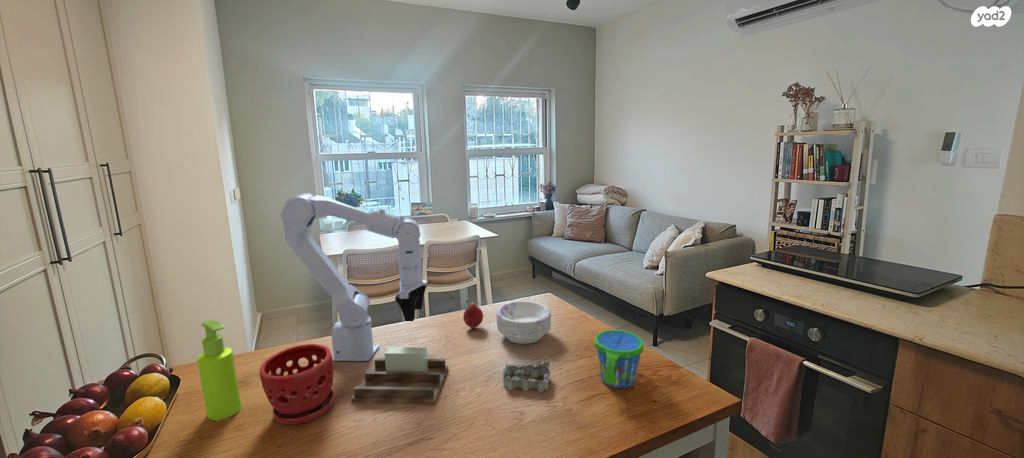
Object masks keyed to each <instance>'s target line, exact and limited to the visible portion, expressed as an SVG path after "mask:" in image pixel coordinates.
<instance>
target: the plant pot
mask: <svg viewBox="0 0 1024 458" xmlns="http://www.w3.org/2000/svg"><path fill="white" fill-rule="evenodd" d="M313 356H315V357H316V359H314V358H313ZM332 356H333V355H332V351H331V349H330V348H328V346H325V345H323V344H318V343H317V344H316V343H312V344H311V343H309V344H301V345H300V344H299V345H295V346H292V347H288V348H286V349H284V350H280V351H279V352H277V353H274V354H273V355H271V356H270V357H267V359H265V360H264V361H263V362H262V364H261V366H260V367H259V370H258V372H259V376H260V383H261V385H262V389H263V392H264V394H265V396H266V398H267V400H268V402H269V404H270V405H271V406H272V407H273V409H272V414H273V417H274V419H275V420H277V421H278V422H280V423H283V424H287V425H298V424H303V423H306V422H309V421H312V420H313V421H314V420H315V419H317V418H318V417H319V416H321V415H322V414H324V413H326V412H327V411H328V409H330V408H331V406H332V404H333V403H334V400H335V392H334V390H333V389H332V387H333V383H334V361H333V357H332ZM300 359H306V360H307V362H308V364H307V365H305V366H302V365H300V363H299V360H300ZM288 362H291V365H289V366H288V365H287V363H288ZM278 369H280V372H279V373H277V370H278ZM294 370H297V371H296V372H295V373H294ZM285 372H287V374H286V375H285Z"/></svg>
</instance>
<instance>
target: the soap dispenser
mask: <svg viewBox="0 0 1024 458" xmlns="http://www.w3.org/2000/svg"><path fill="white" fill-rule="evenodd" d="M200 325H201V327H203V328H204V330H205V337H204V338H202V339H201V344H202V350H203V352H202V353H200V354H199V355H198V356H197V358H196V360H197V366H198V371H199V376H200V377H199V378H200V382H201V387H202V392H203V399H204V403H205V410H206V415H207V418H209V419H208V420H210V419H212V420H211V421H213V420H217V421H221V420H220V419H223V420H225V419H224V418H226V419H229V418H231V417H233V416H235V415H236V414H238V413H239V412H240V411H241V409H242V401H241V395H240V389H239V384H238V383H239V382H238V378H237V372H236V371H237V370H236V366H235V360H234V352H233V349H232V348H231V347H225V343H224V339H223V335H222V334H218V333H217V332H218V331H221V330H223V329H225V326H224V325H223V324H222V323H221V322H219V321H217V320H213V319H210V320H207V321H204V322H201V323H200ZM239 410H240V411H239ZM237 412H238V413H237ZM234 414H235V415H234ZM230 416H231V417H230ZM228 417H229V418H228Z"/></svg>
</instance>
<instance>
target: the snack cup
mask: <svg viewBox="0 0 1024 458" xmlns="http://www.w3.org/2000/svg"><path fill="white" fill-rule="evenodd" d="M594 346H595V348H596V350H597V359H598V367H599V368H598V369H599V375H600V379H601V382H602V383H605V385H607V386H609V387H611V388H613V389H627V388H631V387H632V386H633V385H634V383H635V380H636V377H637V373H638V368H639V363H640V358H641V354H642V353H643V351H644V341H643V339H642V338H641V337H640V336H639V335H636V334H635V333H634V332H633V333H632V332H629V331H627V330H620V329H607V330H604V331H601V332H599V333H598V334H597V335H596V336H595V338H594Z"/></svg>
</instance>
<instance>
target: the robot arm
mask: <svg viewBox="0 0 1024 458" xmlns="http://www.w3.org/2000/svg"><path fill="white" fill-rule="evenodd" d="M281 210H282V211H281V213H280V218H281V220H282V226H283V234H284V240H285V242H286V244H287V245H288V246H289V248H291V250H292V251H293V252H294V254H295V255H296V256H297V257H298V258H299V259H300V261H301V262H302V263H303V264H304V265H305V266H306V268H307V269H308V271H310V273H311V274H312V275H313V277H314V278H315V279H316V281H317V282H318V283H319V284H320V285H321V286H322V288H323V289H324V290H325V291H326V293H327V294H328V295H329V296H330V297H331V299H332V303H333V307H334V309H335V310H336V312H337V313H338V317H339V320H340V321H336V322H335V323H334V325H333V326H332V328H331V329H332V330H331V343H332V344H331V345H332V353H333V355H332V356H333V357H332V360H333V362H335V361H337V362H339V361H340V362H369V361H370V360H371V358H372V357H373V355H374V354H375V353H376V352H377V350H378V349H379V347H380V344H374V339H373V330H372V329H373V327H372V319H371V316H369V314H368V310H369V307H370V303H371V302H370V298H369V297H368V296H367V295H366V294H365V293H363V292H361V291H359V290H358V288H357V287H356V286H354V285H352V284H350V283H349V282H348V281H347V279H346V278H345V277H344V276H343V275H342V273H341V272H340V271H339V269H338V268H337V267H336V265H334V264H333V262H332V261H331V259H330V258H329V257H328V256H327V255H326V253H325V252H324V250H323V249H322V248H321V247H320V245H318V243H317V242H316V240H315V238H313V236H311V230H312V228H313V223H314V220H317V219H322V218H326V217H335V218H339V219H343V220H346V221H351V222H353V223H358V224H362V225H364V226H365V228H366V231H368V232H371V233H374V234H377V235H381V236H384V237H388V238H391V239H396V240H397V241H398V248H397V256H398V270H399V293H397V294H396V295H395V296H394V299H395V302H396V303H397V304H398V306H399V307H400V309H401V310H400V311H401V312H402V315H403V319H404V321H405V322H414V321H415V318H416V317H415V314H416V310H422V308H423V304H424V298H425V297H424V296H425V293H426V290H427V289H426V288H427V287H428V284H429V283H428V280H425V279H424V278H423V277H424V276H423V267H422V266H423V264H422V263H423V262H422V249H421V246H420V245H421V241H420V237H421V232H420V226H419V223H418V222H417V221H416V220H414V219H412V218H411V217H404V215H401V214H400V215H399V216H398V215H396V214H393V213H389V212H386V209H385V208H379V209H377V208H375V209H372V210H370V211H366V210H363V209H362V208H361V209H360V208H358V207H355V206H352V205H349V204H347V203H344V202H341V201H338V200H336V199H332V198H330V197H327V196H324V195H317V194H316V195H315V194H313V193H310V192H302V193H299V194H298V195H296V196H294V197H291V198H289V199H287V200H286V201H285V203H284V205H283V208H282V209H281Z"/></svg>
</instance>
